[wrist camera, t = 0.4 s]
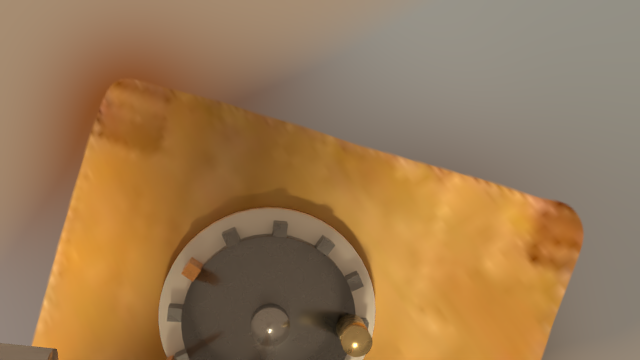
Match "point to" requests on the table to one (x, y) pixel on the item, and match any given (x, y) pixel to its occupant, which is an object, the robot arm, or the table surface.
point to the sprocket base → (250, 225)
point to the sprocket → (270, 302)
